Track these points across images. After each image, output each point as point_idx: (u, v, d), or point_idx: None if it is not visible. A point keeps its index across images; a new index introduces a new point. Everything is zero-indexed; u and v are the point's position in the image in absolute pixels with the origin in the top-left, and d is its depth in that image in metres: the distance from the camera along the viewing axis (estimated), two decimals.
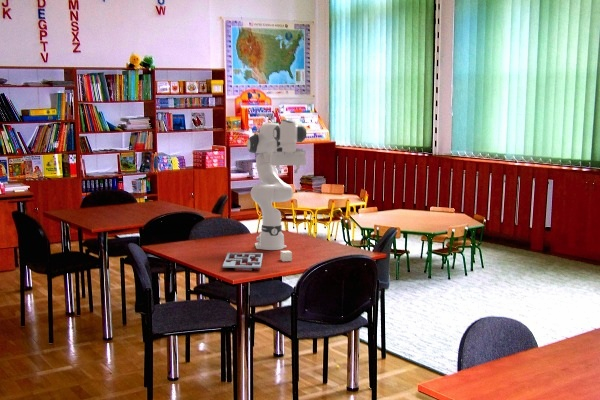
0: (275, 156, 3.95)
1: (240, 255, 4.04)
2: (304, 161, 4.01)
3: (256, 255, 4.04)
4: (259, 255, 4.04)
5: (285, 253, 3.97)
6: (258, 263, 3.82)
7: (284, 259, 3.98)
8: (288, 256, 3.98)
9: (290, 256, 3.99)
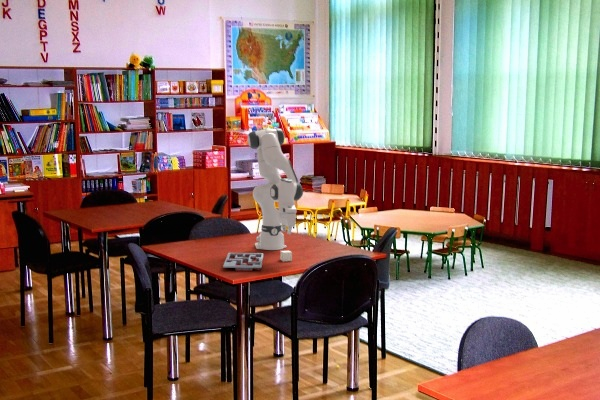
0: None
1: (241, 255, 4.04)
2: None
3: (257, 255, 4.04)
4: (260, 255, 4.04)
5: (285, 253, 3.97)
6: (259, 263, 3.81)
7: (284, 259, 3.98)
8: (288, 256, 3.98)
9: (290, 256, 3.99)
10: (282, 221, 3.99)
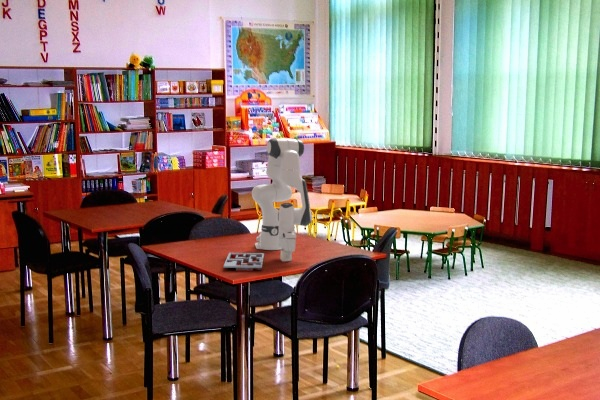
0: None
1: (241, 255, 4.03)
2: None
3: (257, 255, 4.04)
4: (260, 255, 4.04)
5: (285, 253, 3.97)
6: (259, 263, 3.81)
7: (284, 259, 3.98)
8: None
9: (290, 256, 3.98)
10: (282, 245, 4.01)
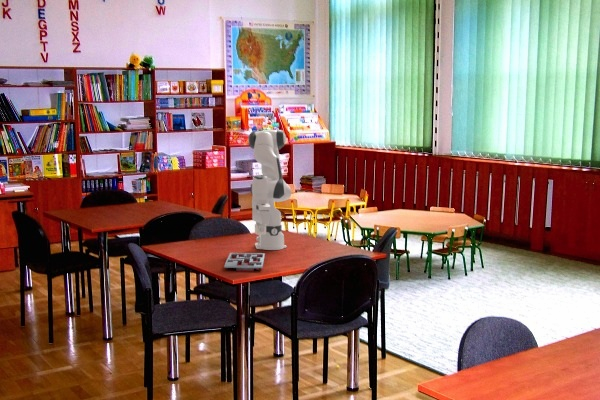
0: None
1: (242, 255, 4.03)
2: None
3: (258, 255, 4.04)
4: (261, 255, 4.04)
5: (259, 226, 3.86)
6: (260, 263, 3.81)
7: (258, 232, 3.86)
8: None
9: (264, 229, 3.87)
10: (256, 219, 3.90)
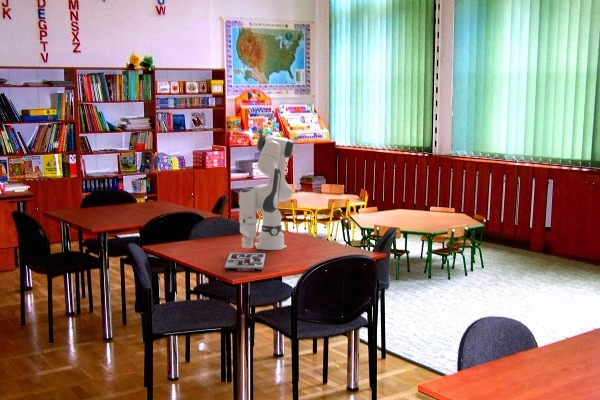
0: None
1: (243, 255, 4.03)
2: None
3: (259, 255, 4.03)
4: (262, 255, 4.03)
5: (246, 239, 3.83)
6: (260, 263, 3.81)
7: (245, 245, 3.83)
8: None
9: (251, 242, 3.84)
10: (243, 232, 3.86)
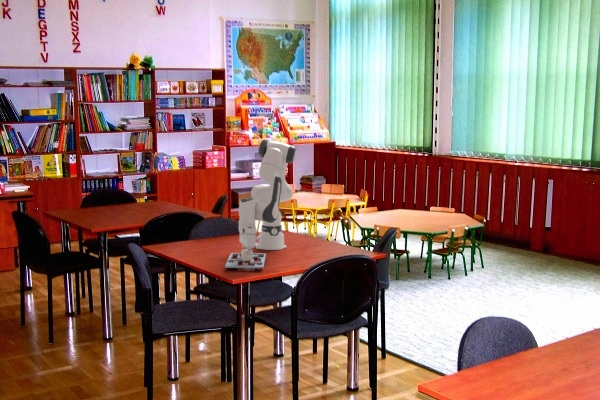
0: None
1: None
2: None
3: (259, 255, 4.03)
4: (262, 255, 4.03)
5: (246, 252, 3.84)
6: (261, 263, 3.81)
7: (244, 258, 3.84)
8: (249, 256, 3.85)
9: (251, 255, 3.85)
10: (242, 241, 3.87)
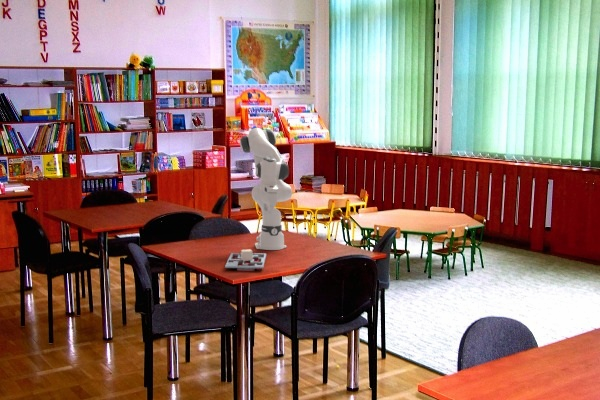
0: None
1: None
2: None
3: (259, 255, 4.03)
4: (262, 255, 4.03)
5: (245, 252, 3.84)
6: (261, 263, 3.81)
7: (244, 258, 3.84)
8: (249, 256, 3.85)
9: (251, 255, 3.85)
10: (264, 200, 3.96)
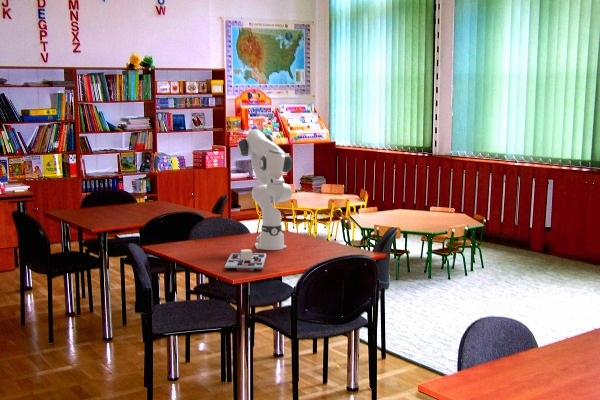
0: None
1: None
2: None
3: (259, 255, 4.03)
4: (262, 255, 4.03)
5: (245, 252, 3.84)
6: (260, 263, 3.81)
7: (244, 258, 3.84)
8: (248, 255, 3.85)
9: (250, 255, 3.85)
10: (270, 192, 3.99)
